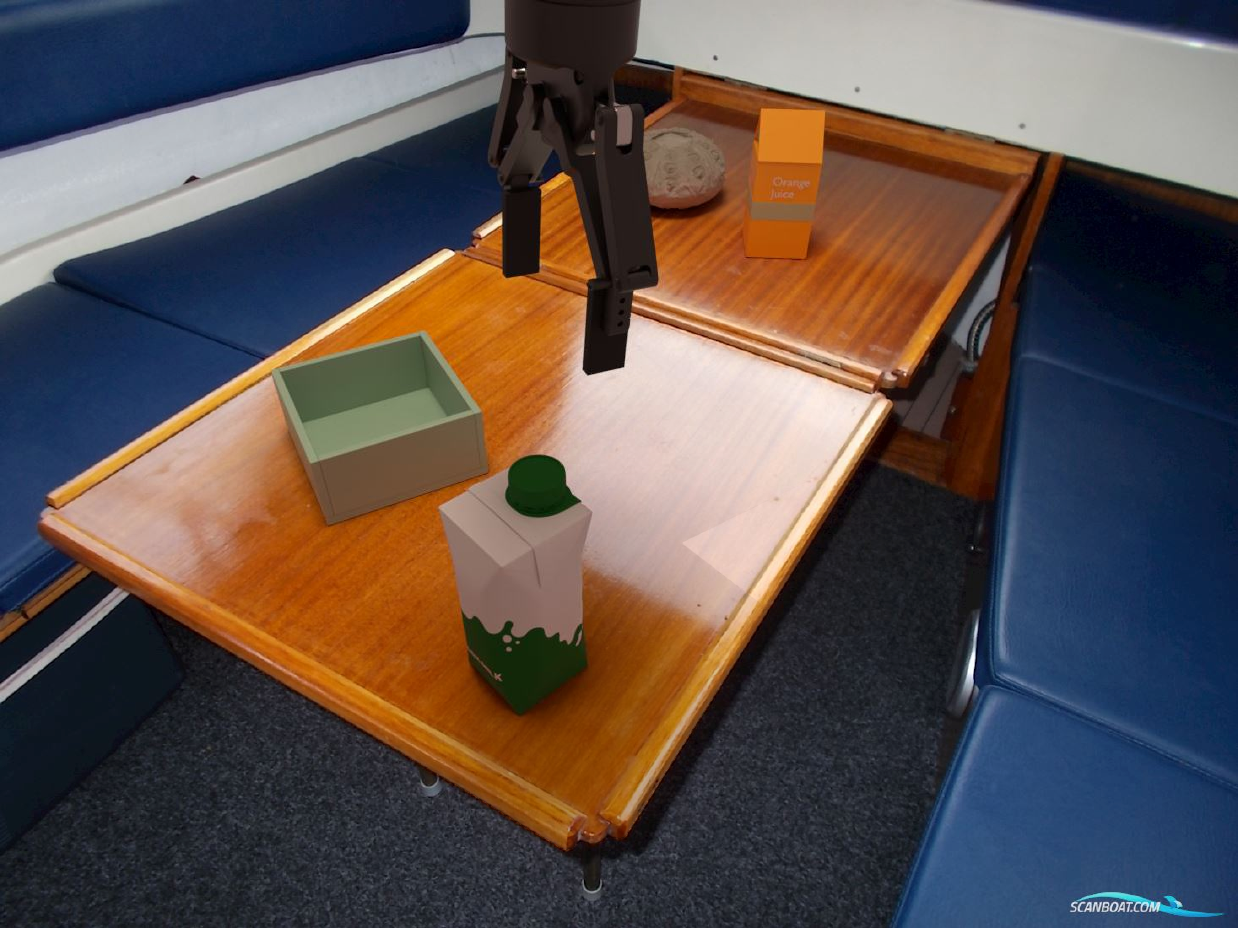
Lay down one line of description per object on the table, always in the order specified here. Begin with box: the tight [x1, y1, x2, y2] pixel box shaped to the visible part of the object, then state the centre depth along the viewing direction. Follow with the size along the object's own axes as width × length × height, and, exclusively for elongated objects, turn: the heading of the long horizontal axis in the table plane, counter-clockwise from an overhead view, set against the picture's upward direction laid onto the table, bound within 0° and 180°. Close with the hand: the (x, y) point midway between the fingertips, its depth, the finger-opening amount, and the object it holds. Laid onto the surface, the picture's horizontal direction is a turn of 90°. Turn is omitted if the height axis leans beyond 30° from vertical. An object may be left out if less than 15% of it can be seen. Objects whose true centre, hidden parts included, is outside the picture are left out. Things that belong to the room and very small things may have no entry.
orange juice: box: [742, 107, 826, 259], centre depth 122 cm, size 8×9×20 cm
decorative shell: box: [643, 126, 727, 210], centre depth 137 cm, size 18×18×10 cm
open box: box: [270, 329, 489, 527], centre depth 89 cm, size 17×17×8 cm
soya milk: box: [437, 453, 593, 717], centre depth 65 cm, size 9×9×20 cm
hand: (559, 318), depth 60 cm, fingers open, 13 cm apart
